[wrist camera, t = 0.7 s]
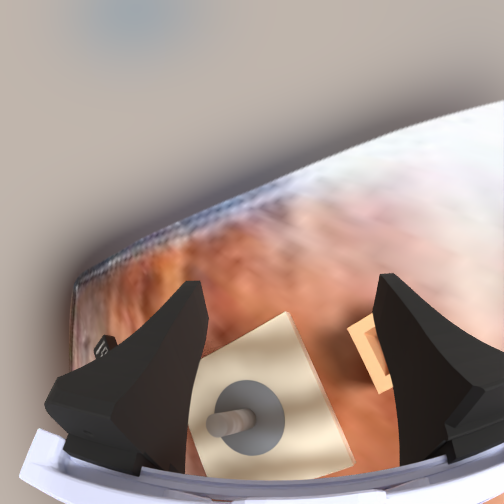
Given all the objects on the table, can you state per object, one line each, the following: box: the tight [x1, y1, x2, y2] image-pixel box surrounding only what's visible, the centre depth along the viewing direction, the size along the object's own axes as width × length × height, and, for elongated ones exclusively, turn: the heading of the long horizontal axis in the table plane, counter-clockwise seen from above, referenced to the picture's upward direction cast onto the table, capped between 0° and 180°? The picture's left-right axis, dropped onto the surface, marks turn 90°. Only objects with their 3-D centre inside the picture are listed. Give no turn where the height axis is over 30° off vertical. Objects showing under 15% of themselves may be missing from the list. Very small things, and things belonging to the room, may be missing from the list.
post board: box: [188, 311, 356, 480], centre depth 25 cm, size 16×16×6 cm
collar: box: [347, 314, 393, 394], centre depth 20 cm, size 5×5×6 cm
